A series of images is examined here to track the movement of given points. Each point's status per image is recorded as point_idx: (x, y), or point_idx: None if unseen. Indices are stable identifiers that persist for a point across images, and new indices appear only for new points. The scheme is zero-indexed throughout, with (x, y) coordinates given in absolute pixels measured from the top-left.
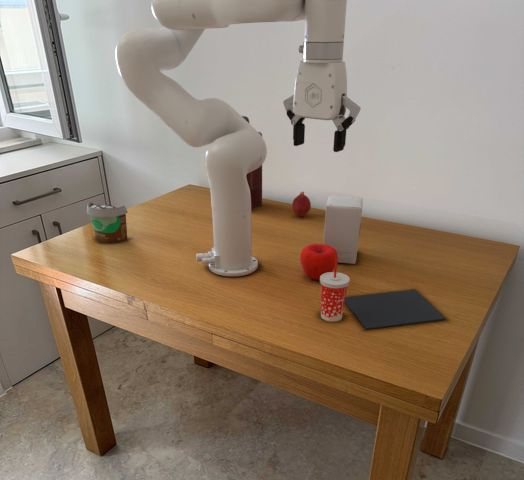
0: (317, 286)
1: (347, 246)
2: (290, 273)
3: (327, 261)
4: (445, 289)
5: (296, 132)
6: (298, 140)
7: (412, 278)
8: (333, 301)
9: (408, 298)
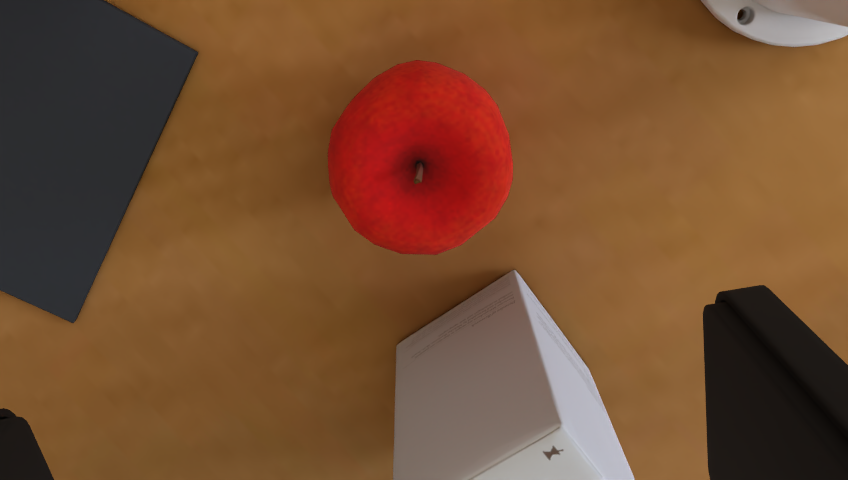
0: (357, 66)
1: (428, 364)
2: (538, 76)
3: (332, 133)
4: (19, 407)
5: (817, 419)
6: (733, 382)
7: (158, 398)
8: None
9: (28, 245)
